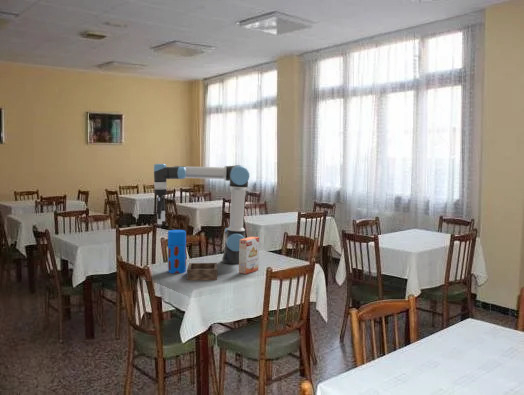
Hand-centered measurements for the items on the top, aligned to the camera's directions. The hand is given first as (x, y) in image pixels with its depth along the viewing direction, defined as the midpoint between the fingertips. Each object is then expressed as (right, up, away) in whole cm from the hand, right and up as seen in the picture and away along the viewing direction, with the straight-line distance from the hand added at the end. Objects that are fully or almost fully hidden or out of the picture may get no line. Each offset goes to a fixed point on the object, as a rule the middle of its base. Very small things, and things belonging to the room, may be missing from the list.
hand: (161, 222), depth 321 cm
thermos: (+11, -30, -6) cm, 32 cm away
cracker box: (+55, -30, -5) cm, 63 cm away
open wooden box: (+28, -31, -17) cm, 45 cm away
